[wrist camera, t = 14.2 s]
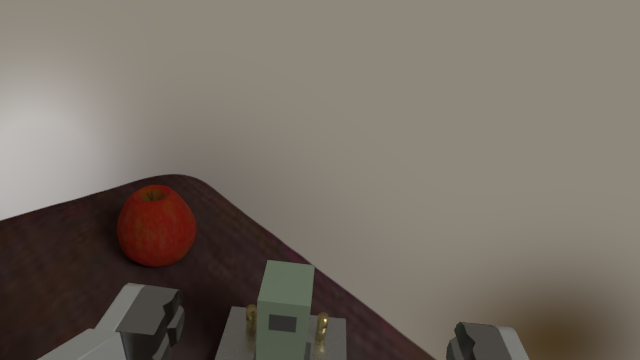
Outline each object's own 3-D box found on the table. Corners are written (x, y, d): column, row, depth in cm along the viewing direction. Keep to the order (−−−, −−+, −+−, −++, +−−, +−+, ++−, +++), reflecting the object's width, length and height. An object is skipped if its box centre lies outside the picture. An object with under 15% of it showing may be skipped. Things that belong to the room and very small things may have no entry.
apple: (130, 231, 58) (119, 172, 53) (199, 227, 61) (195, 170, 56) (114, 278, 50) (100, 213, 44) (196, 272, 52) (191, 210, 47)
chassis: (193, 437, 34) (189, 406, 32) (232, 314, 47) (231, 285, 44) (345, 454, 34) (353, 424, 32) (344, 327, 47) (349, 298, 44)
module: (255, 385, 37) (257, 300, 31) (264, 341, 42) (267, 260, 36) (299, 390, 37) (310, 306, 31) (304, 346, 42) (314, 265, 36)
